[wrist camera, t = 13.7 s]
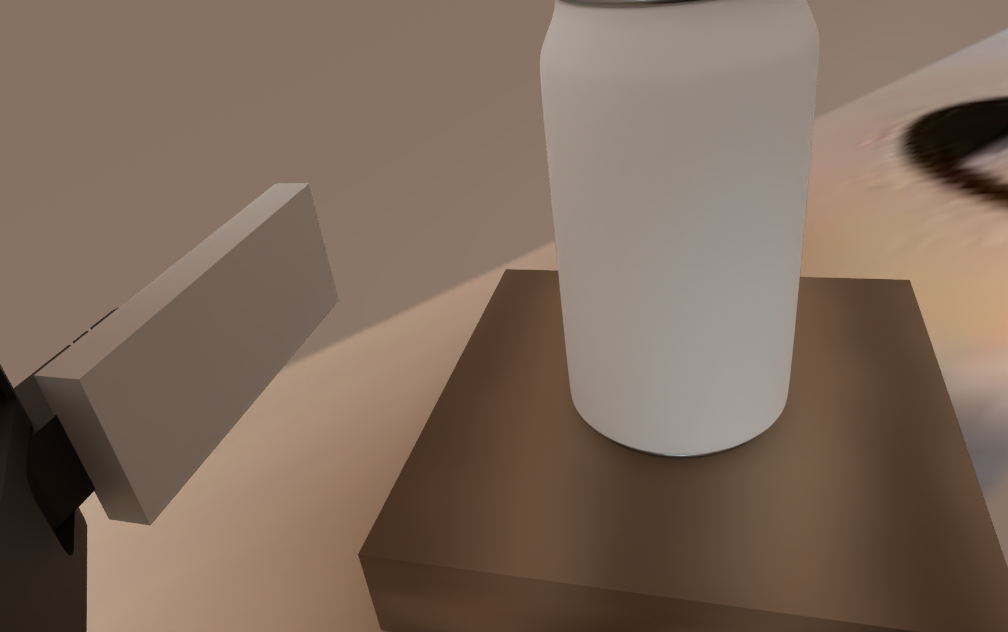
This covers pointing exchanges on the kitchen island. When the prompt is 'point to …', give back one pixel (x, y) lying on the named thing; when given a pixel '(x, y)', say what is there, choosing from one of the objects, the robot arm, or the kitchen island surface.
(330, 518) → the kitchen island surface
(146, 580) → the kitchen island surface
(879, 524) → the walnut board
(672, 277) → the can
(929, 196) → the kitchen island surface
